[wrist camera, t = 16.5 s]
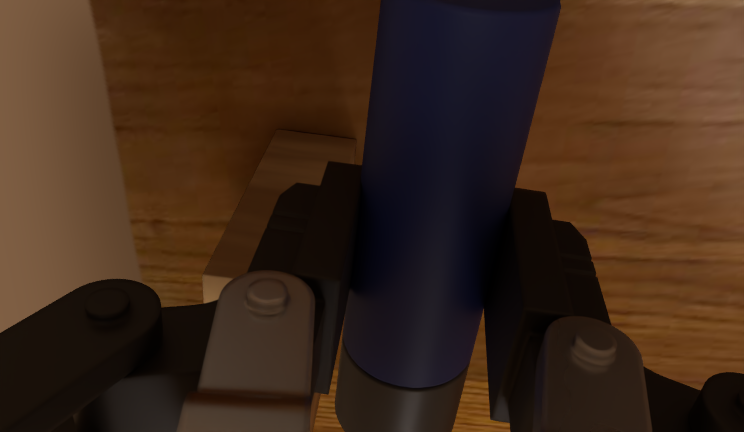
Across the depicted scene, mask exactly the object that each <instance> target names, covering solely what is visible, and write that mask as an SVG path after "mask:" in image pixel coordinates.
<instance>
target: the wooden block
mask: <svg viewBox="0 0 744 432" xmlns="http://www.w3.org/2000/svg"><path fill="white" fill-rule="evenodd" d="M355 151H356V140H355V139H348V138H340V137H333V136H325V135H318V134H310V133H303V132H295V131H287V130H280V129H277V130H276V132H275V134H274V136H273V138H272V140H271V142H270V144H269V146H268V148H267V150H266V151H265V153H264V155H263V157H262V159H261V161H260V163H259V165H258V167H257V169H256V171H255V173H254V175H253V177H252V179H251V181H250V183H249V185H248V187H247V189H246V191H245V193H244V195H243V196H242V198H241V200H240V202H239V204H238V206H237V208H236V210H235V212H234V214H233V216H232V218H231V220H230V222H229V224H228V226H227V228H226V230H225V232H224V234H223V236H222V238H221V240H220V242H219V243H218V245H217V247H216V249H215V251H214V253H213V255H212V257H211V259H210V261H209V263H208V265H207V267H206V269H205V271H204V273H203V275H202V278H203V299H204V303H208V302H212V301H215V300H218V299H219V295H220V293H221V291H222V289H223V288H224V286H225V285H226V284H227V283H228V282H230V281H231V280H232V279H234V278H236V277H238V276H240V275H242V274H245V273H247V271H248V268H249V266H250V264H251V261H252V259H253V257H254V254H255V252H256V250H257V247H258V245H259V242H260V240H261V238H262V235H263V233H264V231H265V228H267V224H268V221H269V219H270V216H271V214H272V213H273V209H274V207H275V205H276V202H277V200H278V198H279V195H280V194H282V193H283V192H284V191H286V190H287V189H288V188H290V187H291V186H292V185H294V184H295V183H297V182H298V183H305V184H312V185H319V186H320V184H321V181H322V178H323V175H324V172H325V169H326V166H327V163H328V161H335V162H342V163H349V164H354V161H355ZM320 395H321V393H315V392H314V396H313V400H312V405H311V418H310V432H313V427H314V423H315V418H316V413H317V409H318V404H319V399H320Z"/></svg>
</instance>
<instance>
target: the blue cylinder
mask: <svg viewBox="0 0 744 432" xmlns="http://www.w3.org/2000/svg"><path fill="white" fill-rule="evenodd" d="M560 9H561V4H560V0H381V5H380V14H379V22H378V31H377V40H376V48H375V57H374V66H373V75H372V83H371V92H370V101H369V109H368V118H367V127H366V136H365V144H364V153H363V162H362V171H361V184H362V191H361V199H360V208H359V216H358V225H357V233H356V242H355V251H354V259H353V268H352V276H351V285H350V291H349V296H348V301H347V306H346V311H345V319H344V328H343V337H342V345H341V354H340V362H339V371H338V380H337V389H336V397H335V410H336V415H337V418H338V420H339V423H340V424H341V426H342V428H343V429H344V431H345V432H451V431H452V429H453V425H454V422H455V418H456V414H457V410H458V406H459V402H460V398H461V395H462V391H463V387H464V383H465V379H466V375H467V371H468V367H469V363H470V359H471V355H472V352H473V348H474V344H475V340H476V336H477V332H478V328H479V325H480V321H481V317H482V313H483V309H484V304H485V300H486V297H487V293H488V289H489V285H490V281H491V277H492V273H493V269H494V265H495V262H496V258H497V254H498V250H499V246H500V242H501V238H502V234H503V230H504V226H505V223H506V219H507V215H508V211H509V207H510V204H511V200H512V196H513V192H514V188H515V184H516V181H517V177H518V173H519V169H520V165H521V161H522V157H523V153H524V149H525V146H526V142H527V138H528V134H529V130H530V126H531V122H532V118H533V114H534V111H535V107H536V103H537V99H538V95H539V91H540V87H541V83H542V79H543V76H544V72H545V68H546V64H547V60H548V56H549V52H550V48H551V44H552V41H553V37H554V33H555V29H556V25H557V21H558V17H559V13H560Z"/></svg>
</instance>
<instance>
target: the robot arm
mask: <svg viewBox="0 0 744 432" xmlns="http://www.w3.org/2000/svg"><path fill="white" fill-rule="evenodd" d="M361 171H362V165H356V164H349V163H342V162H335V161H328V163H327V166H326V169H325V172H324V175H323V178H322V181H321V184H320V186H319V185H312V184H305V183H298V182H297V183H295V184H294V185H292V186H291V187H290V188H288V189H287V190H286V191H284V192H283V193H282V194H280V195H279V198H278V200H277V202H276V205H275V207H274V209H273V213H272V214H271V216H270V219H269V221H268V224H267V228H265V231H264V233H263V235H262V238H261V240H260V242H259V245H258V247H257V250H256V252H255V254H254V257H253V259H252V261H251V264H250V266H249V268H248V271H247V273H245V274H242V275H240V276H238V277H236V278H234V279H232V280H231V281H230V282H228V283H227V284H226V285H225V286H224V288H223V289H222V291H221V293H220V295H219V299H218V300H215V301H212V302H208V303H204V304H198V305H189V306H177V307H164V308H161V302H160V299H159V297H158V295H157V294H156V292H155V291H154V290H153V289H151V288H150V287H148V286H147V285H144V284H142V283H140V282H136V281H132V280H126V279H107V280H101V281H96V282H92V283H89V284H86V285H84V286H81V287H79V288H77V289H75V290H73V291H72V292H70V293H68V294H66V295H65V296H63V297H62V298H60V299H58V300H56V301H54V302H53V303H51V304H49V305H48V306H46V307H44V308H42V309H41V310H39V311H38V312H35V313H34V314H32V315H30V316H29V317H27V318H25V319H23V320H22V321H20V322H18V323H17V324H15V325H13V326H11V327H10V328H8V329H6V330H5V331H3V332H1V333H0V432H310V418H311V405H312V400H313V396H314V392H315V393H321V394H329V389H330V384H331V379H332V374H333V370H334V365H335V360H336V355H337V350H338V345H339V340H340V335H341V330H342V325H343V320H344V316H345V311H346V306H347V301H348V296H349V291H350V285H351V276H352V268H353V259H354V251H355V242H356V233H357V225H358V216H359V208H360V199H361V191H362V184H361ZM591 259H592V258H591V254H590V251H589V248H588V244H587V241H586V239H585V238H584V237H583V236H582V235H581V234H580V233H579V232H578V230H577V229H576V228H575V227H574V226H573V225H572V224H571V223H570V222H564V221H558V220H552V217H551V213H550V208H549V204H548V200H547V195H546V193H545V192H541V191H534V190H527V189H520V188H514V192H513V196H512V200H511V204H510V207H509V211H508V215H507V219H506V223H505V226H504V230H503V234H502V238H501V242H500V246H499V250H498V254H497V258H496V262H495V265H494V269H493V273H492V277H491V281H490V285H489V289H488V293H487V297H486V300H485V304H484V318H485V335H486V352H487V369H488V386H489V402H490V419H491V420H495V421H501V422H508V423H510V431H511V432H744V374H741V373H734V372H725V373H719V374H716V375H713V376H712V377H710V378H709V379H708V380H707V381H706V382H705V384H704V386H703V388H702V389H701V391H700V390H697V389H695V388H692V387H690V386H687V385H684V384H682V383H679V382H676V381H674V380H671V379H668V378H666V377H663V376H661V375H659V374H656V373H654V372H653V371H651V370H649V369H647V368H645V367H644V366H643V361H642V357H641V354H640V352H639V350H638V348H637V347H636V345H635V344H634V342H633V341H632V340H631V339H630V338H629V337H628V336H626V335H625V334H624V333H623V332H621V331H620V330H618V329H617V328H615V327H613V326H611V322H610V319H609V315H608V312H607V309H606V305H605V302H604V298H603V295H602V292H601V288H600V285H599V282H598V278H597V277H596V271H595V268H594V265H593V262H591Z"/></svg>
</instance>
